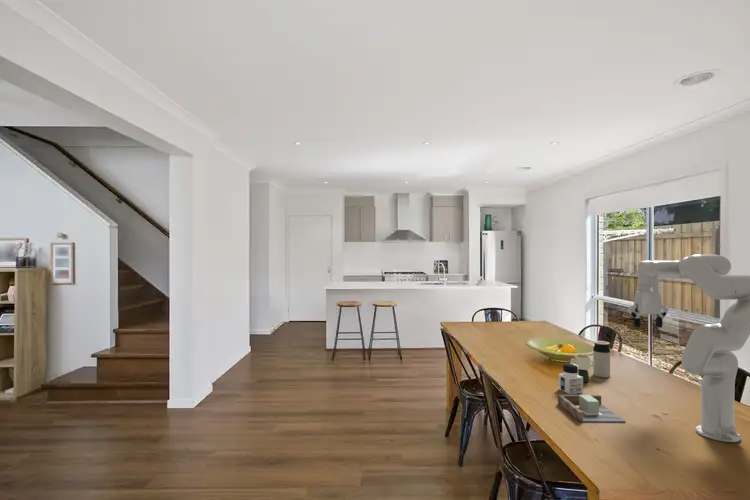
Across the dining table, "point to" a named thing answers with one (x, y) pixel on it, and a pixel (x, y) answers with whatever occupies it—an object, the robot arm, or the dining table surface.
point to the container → (570, 379)
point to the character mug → (583, 365)
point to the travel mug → (601, 359)
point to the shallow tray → (580, 415)
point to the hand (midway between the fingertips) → (648, 327)
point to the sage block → (589, 404)
